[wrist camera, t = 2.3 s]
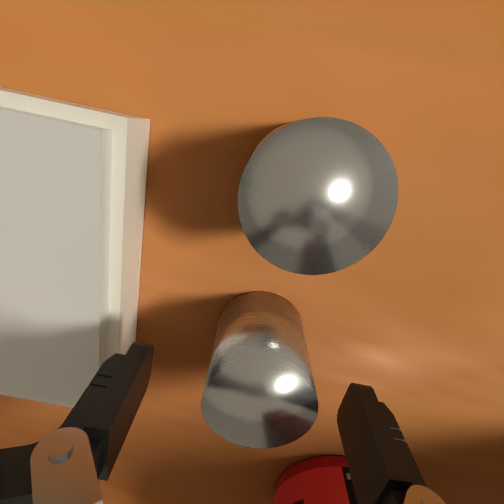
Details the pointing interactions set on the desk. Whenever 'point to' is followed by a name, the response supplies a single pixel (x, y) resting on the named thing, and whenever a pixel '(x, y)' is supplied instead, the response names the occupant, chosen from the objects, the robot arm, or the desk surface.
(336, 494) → the canned food
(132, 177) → the scale
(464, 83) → the desk surface
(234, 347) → the cylinder
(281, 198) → the disc
